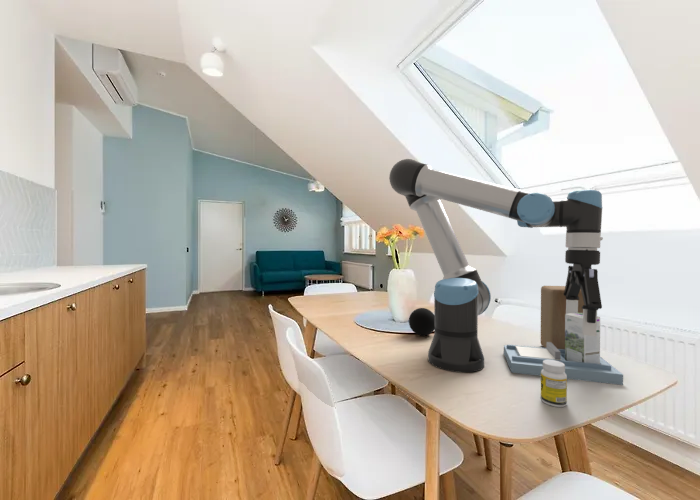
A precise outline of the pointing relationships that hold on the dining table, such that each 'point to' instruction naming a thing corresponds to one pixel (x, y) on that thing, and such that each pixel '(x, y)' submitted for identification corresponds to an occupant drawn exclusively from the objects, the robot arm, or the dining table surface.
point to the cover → (539, 352)
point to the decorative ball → (422, 321)
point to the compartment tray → (572, 369)
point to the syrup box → (581, 340)
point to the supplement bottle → (554, 383)
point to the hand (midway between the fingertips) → (579, 328)
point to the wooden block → (555, 315)
